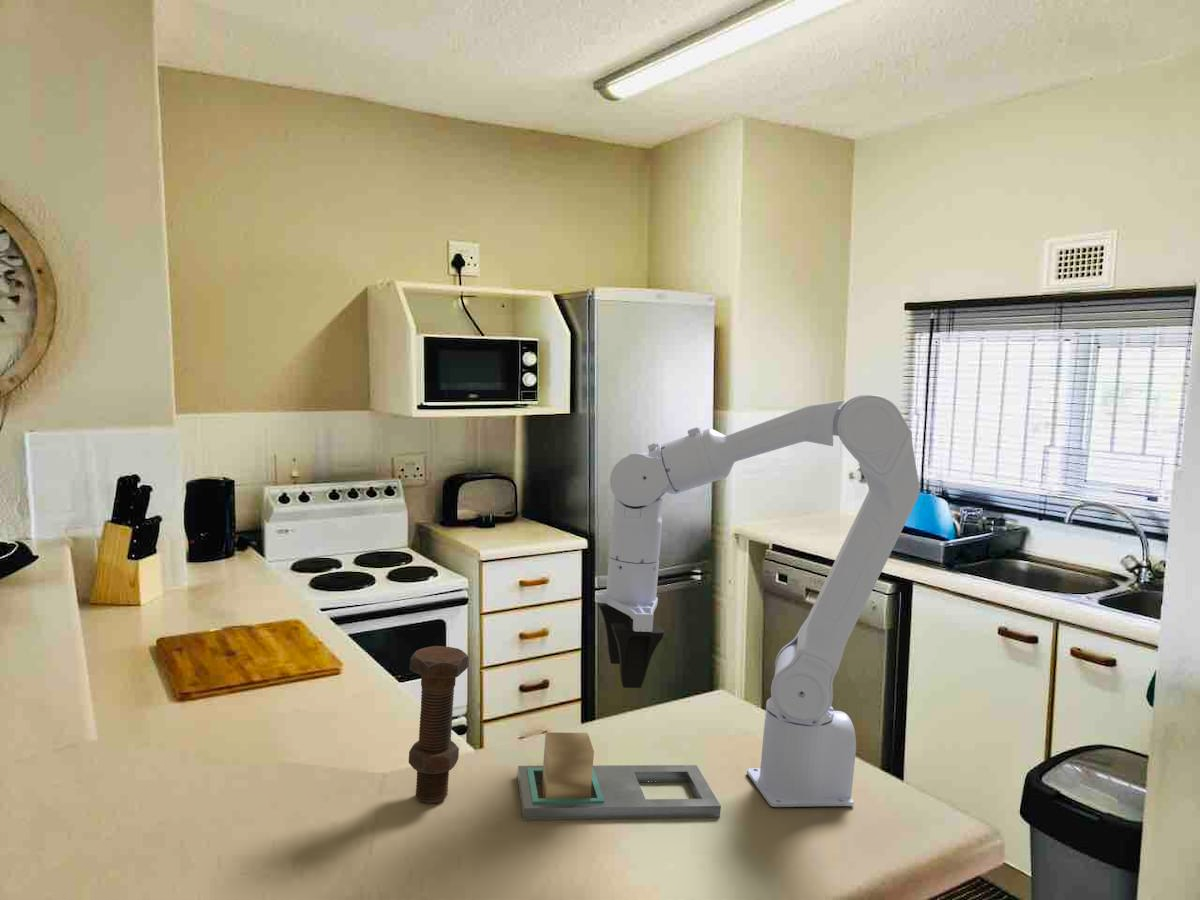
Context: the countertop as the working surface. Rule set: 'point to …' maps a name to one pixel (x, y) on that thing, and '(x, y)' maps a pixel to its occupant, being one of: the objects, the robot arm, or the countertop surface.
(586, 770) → the oak block
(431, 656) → the bolt
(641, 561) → the robot arm
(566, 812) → the grey peg insertion board
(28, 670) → the countertop surface
